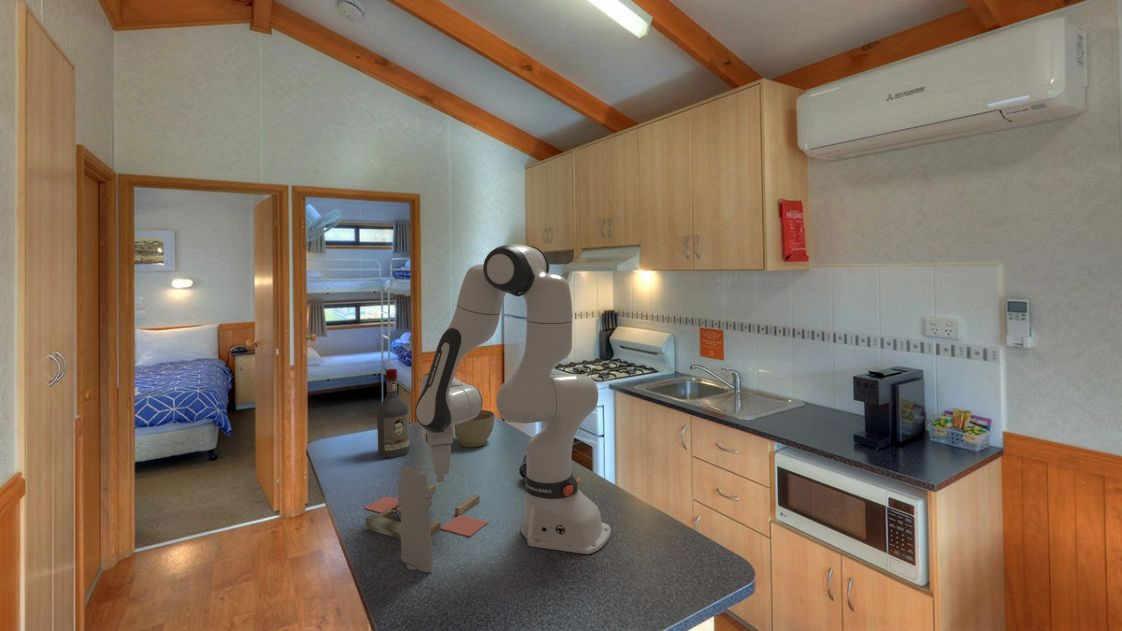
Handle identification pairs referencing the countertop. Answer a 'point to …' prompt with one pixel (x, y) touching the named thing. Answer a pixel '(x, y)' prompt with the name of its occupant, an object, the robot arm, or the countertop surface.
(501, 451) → the countertop surface
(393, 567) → the countertop surface
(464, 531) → the mats
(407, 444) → the liquor
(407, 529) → the tall pale column
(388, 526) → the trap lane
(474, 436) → the planter bowl
